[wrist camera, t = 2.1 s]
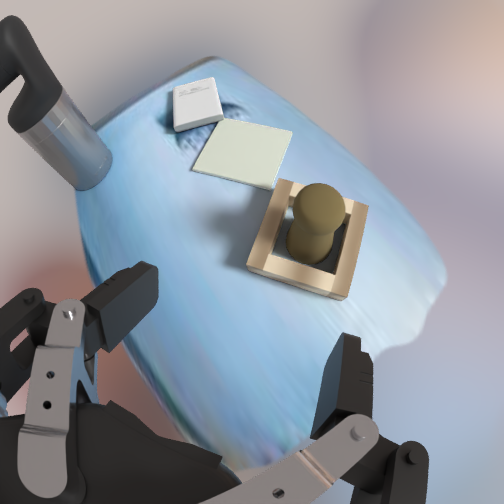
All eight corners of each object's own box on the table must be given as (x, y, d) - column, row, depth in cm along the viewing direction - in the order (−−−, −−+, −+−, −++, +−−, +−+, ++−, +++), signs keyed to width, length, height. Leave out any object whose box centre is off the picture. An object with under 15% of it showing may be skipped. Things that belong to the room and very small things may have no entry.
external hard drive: (176, 133, 43) (174, 93, 47) (224, 120, 42) (215, 82, 47) (173, 126, 41) (172, 87, 46) (222, 113, 41) (213, 76, 46)
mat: (193, 171, 40) (192, 168, 40) (222, 120, 43) (221, 117, 43) (270, 190, 38) (270, 188, 38) (292, 134, 41) (292, 131, 41)
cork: (278, 255, 35) (279, 217, 25) (294, 214, 37) (300, 165, 27) (324, 271, 34) (344, 240, 24) (337, 229, 36) (359, 185, 25)
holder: (248, 270, 35) (246, 264, 32) (278, 189, 38) (278, 178, 35) (341, 301, 33) (347, 297, 30) (362, 215, 36) (368, 205, 33)
